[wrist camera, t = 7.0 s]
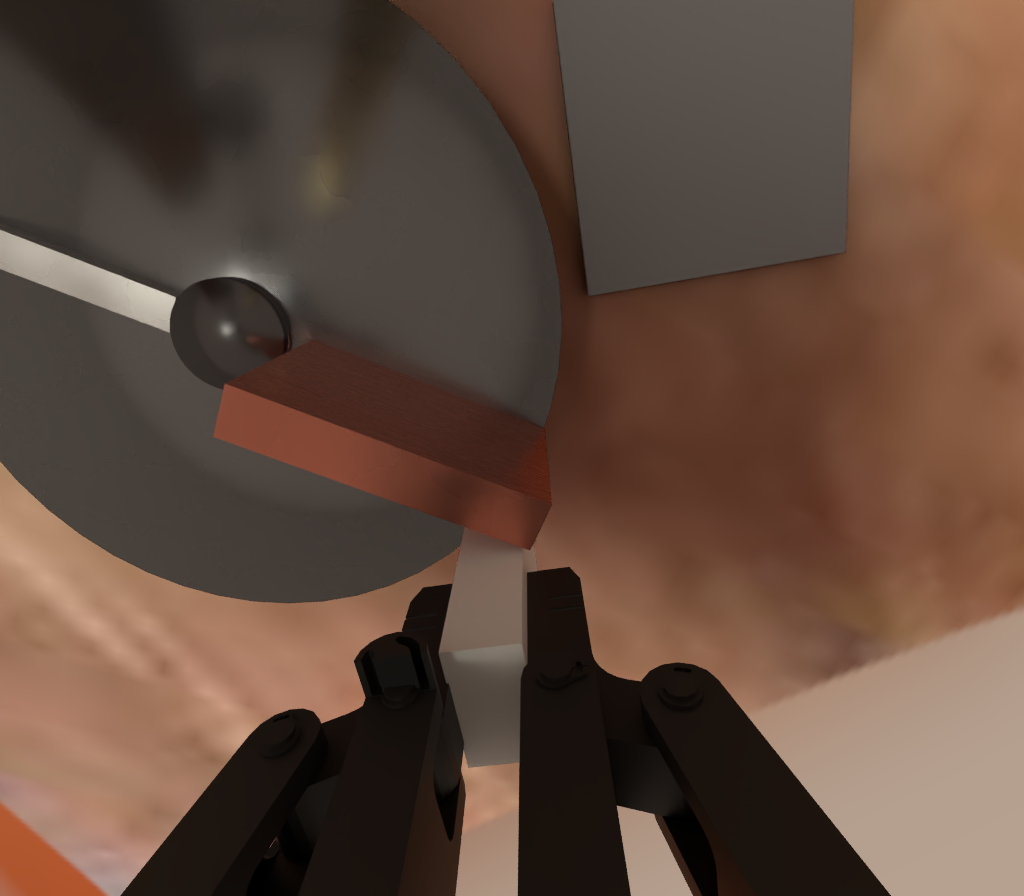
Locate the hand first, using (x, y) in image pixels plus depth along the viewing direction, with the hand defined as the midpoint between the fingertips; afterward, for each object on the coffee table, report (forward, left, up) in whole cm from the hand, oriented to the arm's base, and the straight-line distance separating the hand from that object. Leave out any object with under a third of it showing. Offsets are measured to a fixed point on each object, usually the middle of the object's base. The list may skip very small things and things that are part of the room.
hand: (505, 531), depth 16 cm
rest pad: (-10, +8, -5) cm, 13 cm away
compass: (-7, -6, -3) cm, 10 cm away
